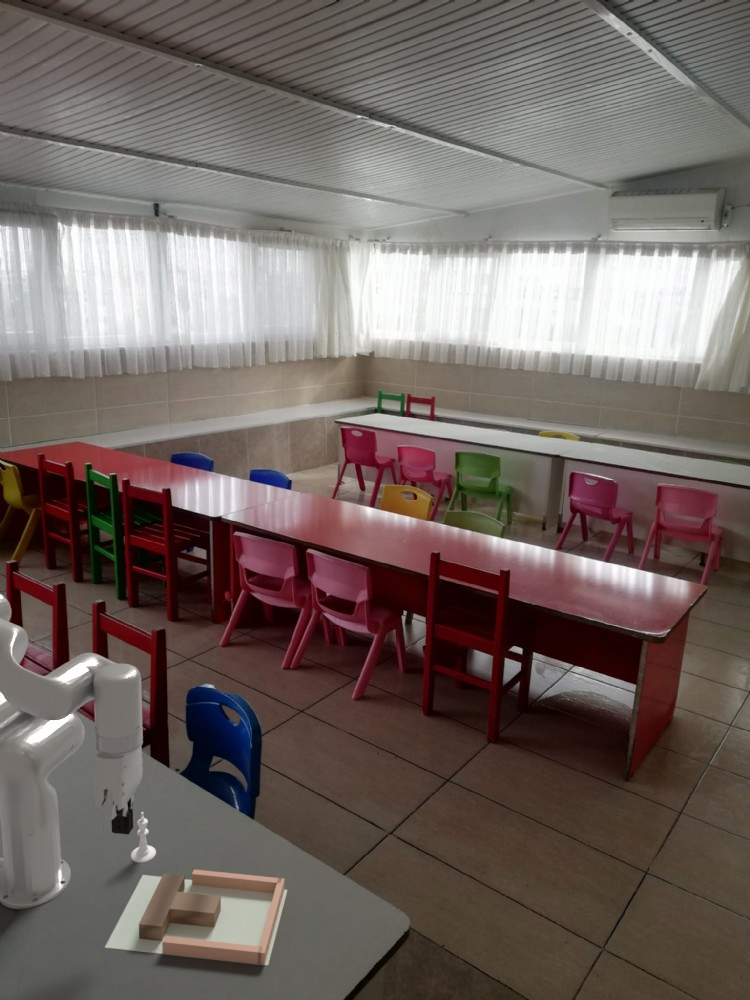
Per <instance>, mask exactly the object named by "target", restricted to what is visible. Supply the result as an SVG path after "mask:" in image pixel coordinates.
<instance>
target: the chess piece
mask: <svg viewBox="0 0 750 1000" xmlns="http://www.w3.org/2000/svg"><path fill="white" fill-rule="evenodd" d="M140 817H141V818H140V819H138V820H137V822H136V823H137V826H138V830H137V833H136V834H137V836H138V837H139V844H138V845H139V846H138V847H136V848H135V849H133V850H132V851H131V853H130V859H131V860H132V861H133V862H135V863H139V864H140V863H141V864H142V863H147V862H149V861H151V860H152V859H153V858H155V856H156V854H157V850H156V848H155V847H153V845H148V842H147V837H146V836H147V835H148V834H149V829H148V828H147V826H148V823H149V820H148V818H146V817H145V815H144V811H141V812H140Z"/></svg>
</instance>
